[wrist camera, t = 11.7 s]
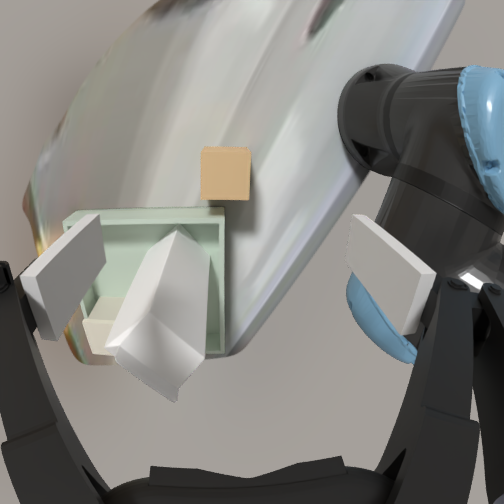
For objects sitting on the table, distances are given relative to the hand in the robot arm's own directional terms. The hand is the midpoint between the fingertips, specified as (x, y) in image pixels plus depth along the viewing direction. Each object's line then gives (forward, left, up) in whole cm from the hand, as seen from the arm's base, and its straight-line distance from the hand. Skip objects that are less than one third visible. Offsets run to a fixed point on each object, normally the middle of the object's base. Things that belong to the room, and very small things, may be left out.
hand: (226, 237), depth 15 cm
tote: (+10, +15, -23) cm, 29 cm away
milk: (+6, +11, -22) cm, 26 cm away
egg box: (+14, +21, -22) cm, 33 cm away
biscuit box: (0, 0, -23) cm, 23 cm away
